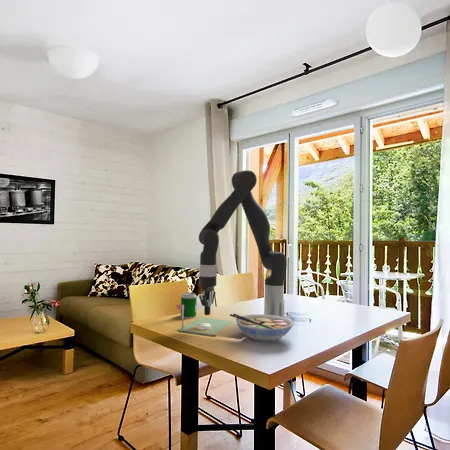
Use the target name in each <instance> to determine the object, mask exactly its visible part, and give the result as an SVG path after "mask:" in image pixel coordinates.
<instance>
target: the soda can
mask: <svg viewBox="0 0 450 450" xmlns="http://www.w3.org/2000/svg"><path fill="white" fill-rule="evenodd" d="M197 297H198V296H197V295H196V293H194V292H183V293H182V294H181V296H180V304H181V305H184V319H194V318H197V308H198V307H197V305H198V304H197V303H198V301H197V300H198V299H197ZM180 318H182V310H181V309H180Z"/></svg>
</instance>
